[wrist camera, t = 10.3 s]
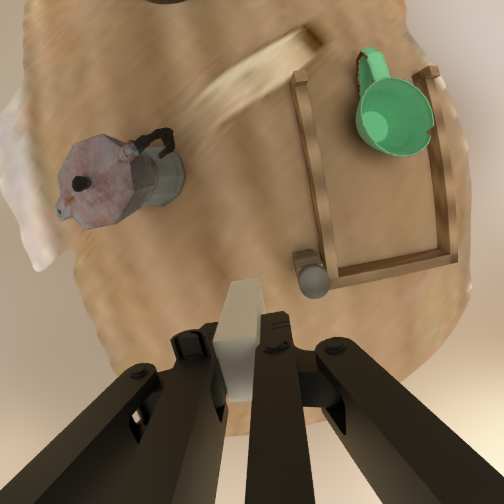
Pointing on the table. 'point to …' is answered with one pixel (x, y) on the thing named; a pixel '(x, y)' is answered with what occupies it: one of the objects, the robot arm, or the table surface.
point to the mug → (390, 109)
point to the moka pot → (117, 178)
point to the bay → (307, 262)
